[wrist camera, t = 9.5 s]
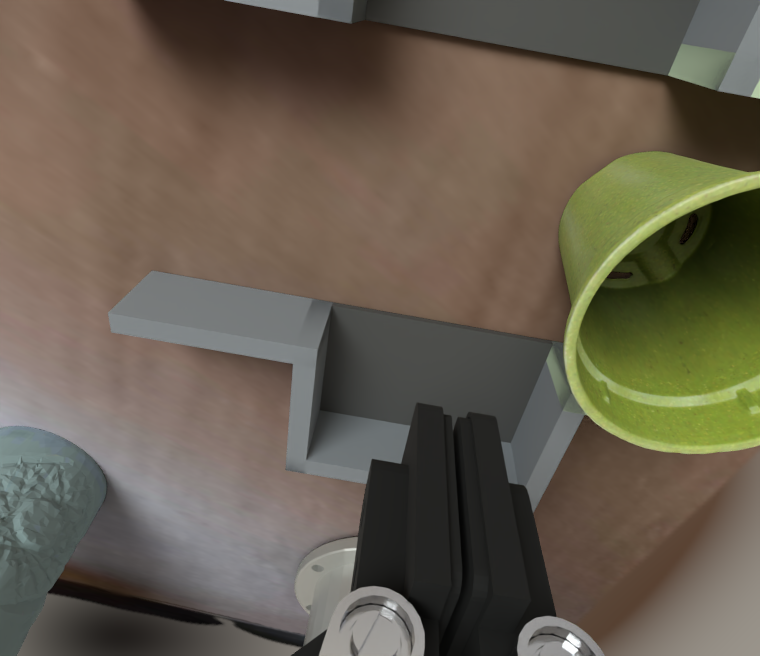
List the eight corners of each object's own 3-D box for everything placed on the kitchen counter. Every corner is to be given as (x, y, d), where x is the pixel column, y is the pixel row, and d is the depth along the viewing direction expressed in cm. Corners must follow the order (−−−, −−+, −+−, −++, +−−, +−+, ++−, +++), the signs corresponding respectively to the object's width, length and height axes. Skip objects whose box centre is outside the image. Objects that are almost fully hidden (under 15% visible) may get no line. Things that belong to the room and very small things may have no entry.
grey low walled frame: (655, 477, 29) (684, 538, 26) (166, 392, 29) (131, 443, 26) (1117, -186, 14) (1336, -246, 10) (76, -387, 13) (-42, -517, 10)
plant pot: (800, 105, 18) (1044, 173, 11) (707, 322, 23) (832, 465, 16) (541, 101, 19) (609, 163, 12) (506, 313, 24) (538, 446, 17)
